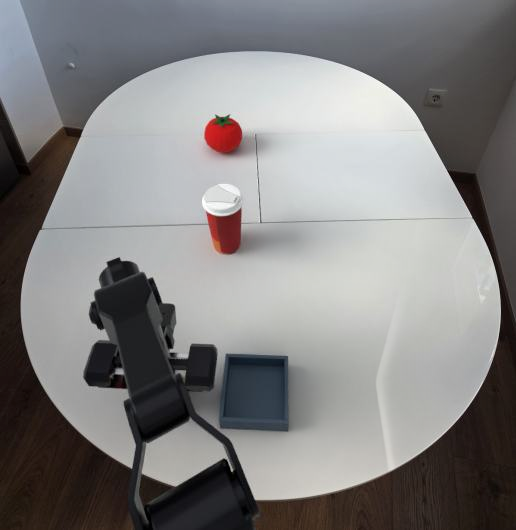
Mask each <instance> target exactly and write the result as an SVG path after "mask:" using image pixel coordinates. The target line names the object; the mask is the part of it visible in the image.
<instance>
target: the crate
mask: <svg viewBox="0 0 516 530" xmlns="http://www.w3.org/2000/svg"><path fill="white" fill-rule="evenodd" d="M221 386H222V387H221V395H220V396H221V397H220V404H219V414H218V423H219V428H220V429H223V430H244V431H245V430H247V431H267V432H289V355H277V354H276V355H275V354H250V353H245V354H244V353H227V352H226V353H225V358H224V368H223V377H222V385H221Z"/></svg>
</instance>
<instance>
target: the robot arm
mask: <svg viewBox="0 0 516 530" xmlns="http://www.w3.org/2000/svg"><path fill="white" fill-rule="evenodd" d="M105 263H106V267H105V268H104V269H103V270H102V271H101V272H100V274H99V276H98V281H99V282H98V283H99V285H100V286H99V287H100V288H98V289H95V290H94V292H93V297H94V300H93V301H90V305H89V308H88V317H89V320H90V322H91V324H92V325H95V326H96V328H97V330H99V331H100V332H101V331H104V330H105V333H106V336H107V337H108V338H107V339H98V340H97V341H95V342H94V344H93V345H92V346H91V348H90V351H89V355H88V357H87V360H86V362H85V366H84V369H83V374H82V375H83V376H82V378H83V380H84V381H85V383H86V385H87V386H88V387H94V388H99V389H115V390H127V394H128V398H127V399H125V400H123V407H124V411H125V415H126V419H127V421H128V425H129V428H130V431H131V435H132V437H133V441H134V444H135V449H134V455H133V461H132V467H131V473H130V478H129V484H128V489H127V490H128V491H127V495H126V503H127V508H128V511H129V514H130V518H131V520H132V525H133V529H134V530H257V528H256V525H255V522H254V520H255V519H256V518H257V517H259V516H261V513H260V510H259V507H258V503H257V501H256V499H255V496H254V494H253V491H252V489H251V486H250V484H249V481H248V478H247V476H246V473H245V472H244V469H243V467H242V464H241V461H240V459H239V457H238V454H237V451H236V449H235V447H234V445H233V442H232V441H231V440H230V438H229V437H228V436H226V435H225V434H224V433H222V432H221V431H220V430H219V429H217V428H216V427H215V426H214V425H212V424H211V423H209V422H208V421H207V420H206V419H205V418H203V417H202V416H200V415H199V414H198V413H197V412H196V409H195V406H194V404H193V401H192V399H191V395H190V396H189V393H188V392H190V393H203V392H211V391H212V390H213V389H214V387H215V382H216V373H217V363H218V356H219V355H218V354H219V352H218V348H217V346H216V345H215V344H213V343H191V344H190V346H189V349H188V352H172V351H171V350H174V347H175V342H176V341H175V337H174V332H175V328H176V325H177V313H176V311H177V310H176V306H175V304H173V303H165V302H164V303H163V300H162V297H161V294H160V291H159V289H158V286H157V284H156V281H155V279H154V277H153V276H151V277H149V278H148V277H147V274H146V272H144V271H140V268H139V265H138V264H137V263H136V262H133V261H131V260H122V259H121V257H120V256H118V257H115V258H113V259H110V260H107V261H106V262H105ZM170 351H171V352H170ZM172 358H173V359H172ZM173 370H178V371H183V372H184V371H185V373H184V377H183V375H182V374H181V372H179V373H178V374H176V375H174V373H173ZM182 377H183V378H184V379H185V383H184V381H183V378H182ZM190 420H191V421H192V422H193V423H195V424H196V425H197V426H199V427H200V428H201V429H202V430H204V431H205V432H206V433H208V434H209V435H210V436H212V438H213V439H215V440H216V441H218V443H220V444H221V445H222V446H223V448H224V451H225V454H226V457H227V458H224V457H223V458H222V459H220V460H218V461H216V462H215V463H213V464H211V465H210V466H208V467H206V468H204V469H202V470H201V471H199V472H198V473H196V474H195V475H193V476H191V477H189V478H188V479H186V480H184V481H182V482H180V483H179V484H178V485H176V486H174V487H172V488H171V489H169V490H168V491H166V492H164V493H162V494H161V495H159V496H157V497H156V498H153V499H152V500H150V501H149V502H147V503H145V505H144V504H143V502H142V499H141V495H140V487H141V481H142V476H143V469H144V463H145V457H146V449H147V444H150V443H152V442H153V441H155V440H157V439H160V438H161V437H163V436H165V435H167V434H168V433H170V432H173V431H174V430H176V429H177V428H179V427H181V426H183V425H185V424H187V423H188V422H190ZM143 505H144V506H143Z"/></svg>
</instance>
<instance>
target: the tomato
mask: <svg viewBox="0 0 516 530" xmlns="http://www.w3.org/2000/svg"><path fill="white" fill-rule="evenodd" d="M214 116H215V117H214V118H211V120H209V121H208V123H207V124H206V126H205V128H204V131H203V133H204V135H203V137H204V140H205V143H206V145H207V146H208V147H209V148H210V149H211V150H212V151H215V152H217V153H223V154H224V153H230V152H232V151H234V150H235V149H237V148H238V147H239V146H240V145H241V142H242V140H243V129H242V127H241V125H240V123H239V122H238V121H236V120H235V119H234V118H232V117H230V116H231V114H227V115H225V116H220V115H218V114H214Z"/></svg>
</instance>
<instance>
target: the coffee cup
mask: <svg viewBox="0 0 516 530" xmlns="http://www.w3.org/2000/svg"><path fill="white" fill-rule="evenodd" d="M201 202H202V207H203V209H204V210H205V215H206V220H207V223H208V228H209V233H210V236H211V237H210V238H211V242H212V245H213V248H214V250H215V251H216V252H217V253H219V254H221V255H232V254H234V253H235V252H237V251H238V250H239V249H240V247H241V242H242V241H241V239H242V217H243V215H242V214H243V213H242V207H243V205H244V196H243V194H242V193H241V191H240V190H239V189H238V188H237V187H236V186H235V185H233V184H229V183H219V184H215V185H213V186H211V187H209V188H208V189H207V190H206V191H205V193H204V195H203V196H202V199H201Z"/></svg>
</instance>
